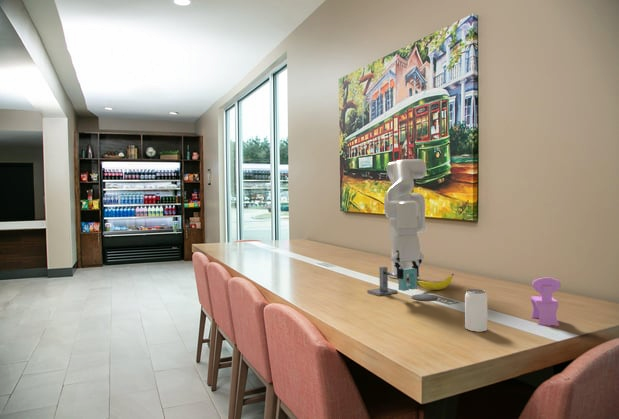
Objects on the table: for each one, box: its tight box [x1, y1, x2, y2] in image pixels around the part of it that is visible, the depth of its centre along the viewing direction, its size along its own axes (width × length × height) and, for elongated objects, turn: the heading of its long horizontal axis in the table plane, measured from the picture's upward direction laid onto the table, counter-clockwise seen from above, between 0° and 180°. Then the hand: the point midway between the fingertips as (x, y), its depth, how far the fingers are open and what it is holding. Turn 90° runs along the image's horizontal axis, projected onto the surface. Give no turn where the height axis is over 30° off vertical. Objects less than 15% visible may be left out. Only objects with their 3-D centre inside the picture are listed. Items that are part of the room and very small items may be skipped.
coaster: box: [411, 293, 438, 302], centre depth 179 cm, size 10×10×1 cm
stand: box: [366, 265, 399, 297], centre depth 186 cm, size 10×18×11 cm, turn 28°
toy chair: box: [530, 276, 561, 327], centre depth 144 cm, size 8×9×15 cm
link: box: [397, 268, 418, 292], centre depth 175 cm, size 7×3×8 cm, turn 118°
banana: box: [417, 273, 455, 291], centre depth 193 cm, size 3×19×6 cm, turn 111°
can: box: [464, 288, 488, 333], centre depth 138 cm, size 6×6×12 cm
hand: (407, 277), depth 175 cm, fingers closed on link, 7 cm apart
